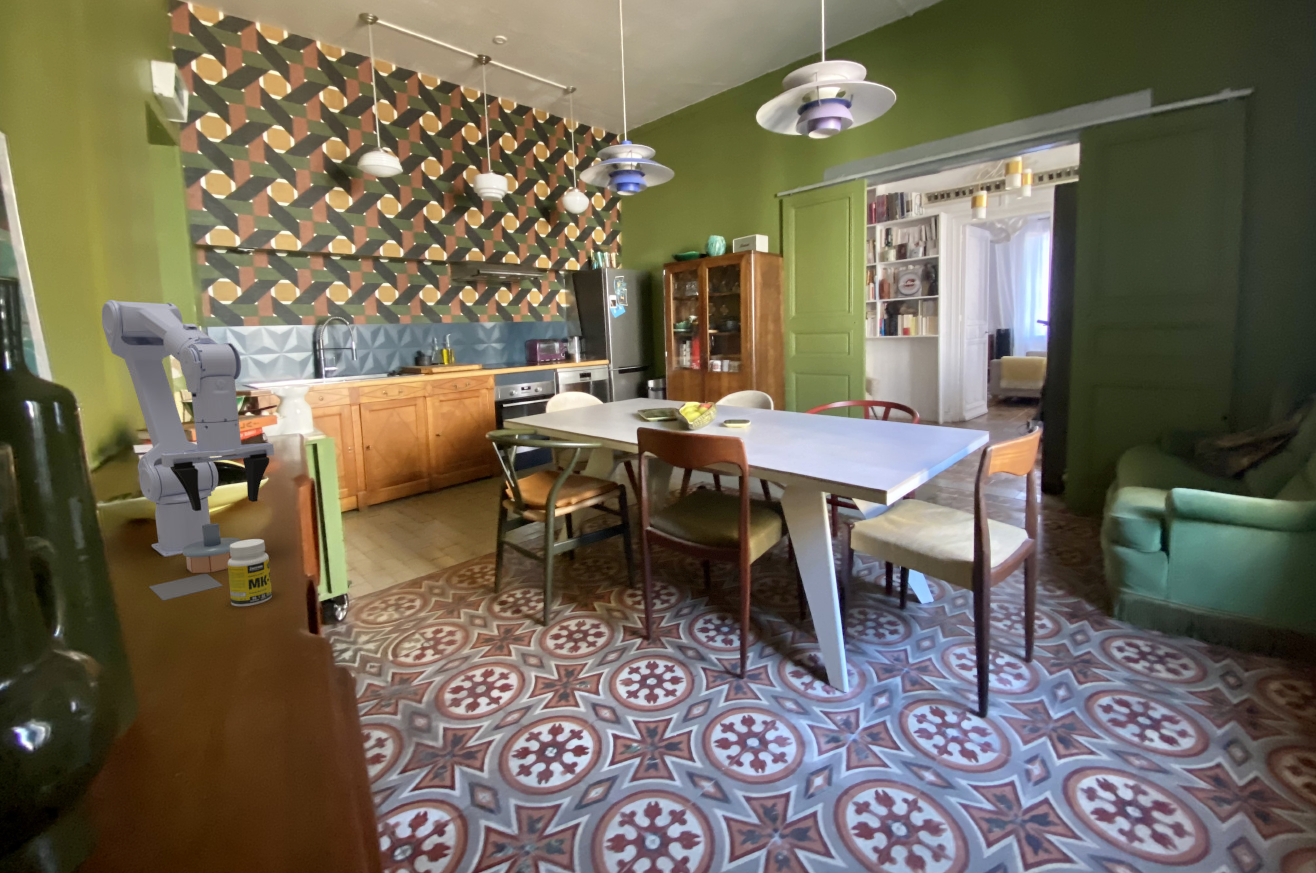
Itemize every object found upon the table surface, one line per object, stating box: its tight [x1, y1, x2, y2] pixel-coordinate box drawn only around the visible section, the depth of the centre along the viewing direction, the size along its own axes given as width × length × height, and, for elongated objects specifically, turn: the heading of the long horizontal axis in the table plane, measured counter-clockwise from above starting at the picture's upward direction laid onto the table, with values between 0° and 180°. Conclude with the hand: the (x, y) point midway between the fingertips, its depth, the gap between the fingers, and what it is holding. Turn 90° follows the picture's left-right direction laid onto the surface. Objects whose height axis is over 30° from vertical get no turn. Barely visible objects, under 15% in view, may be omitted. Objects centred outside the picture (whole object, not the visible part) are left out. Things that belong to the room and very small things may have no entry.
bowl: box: [185, 552, 232, 574], centre depth 99 cm, size 7×7×3 cm
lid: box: [182, 522, 242, 557], centre depth 99 cm, size 8×8×4 cm
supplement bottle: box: [227, 538, 273, 607], centre depth 85 cm, size 5×5×8 cm
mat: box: [148, 572, 224, 602], centre depth 90 cm, size 8×7×1 cm
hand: (225, 505), depth 99 cm, fingers open, 7 cm apart
